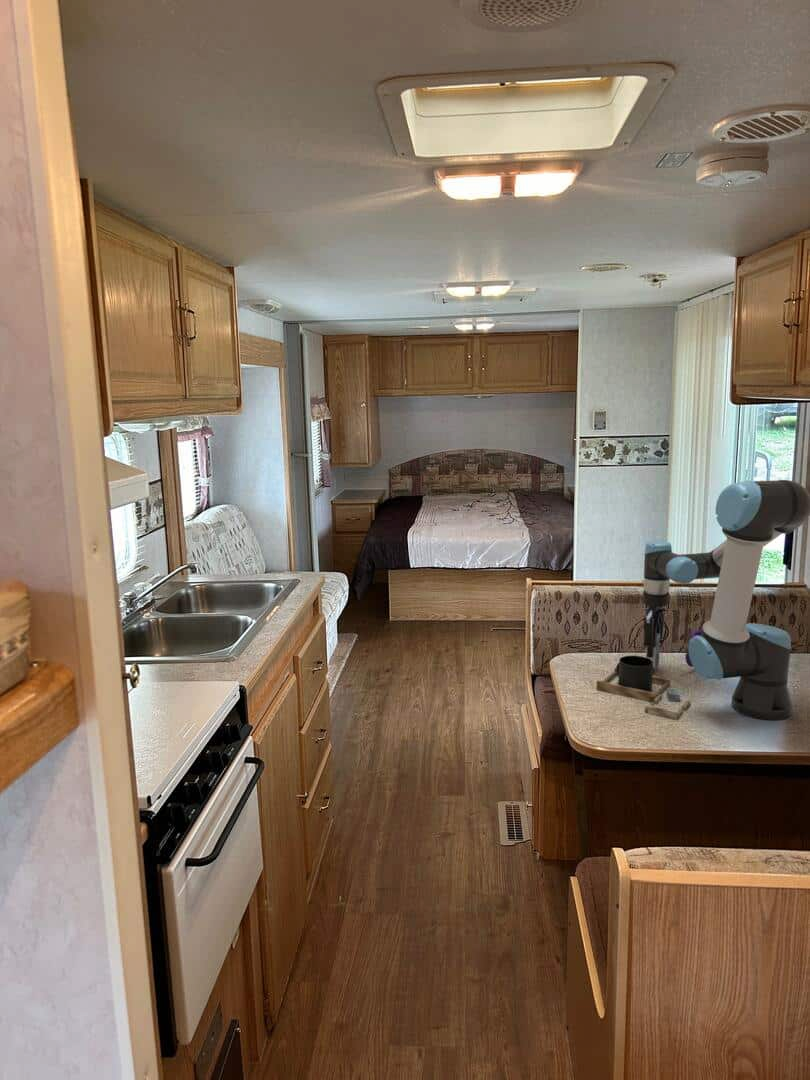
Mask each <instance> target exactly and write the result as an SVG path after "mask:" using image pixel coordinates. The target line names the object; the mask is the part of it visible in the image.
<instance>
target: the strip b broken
mask: <svg viewBox="0 0 810 1080" xmlns="http://www.w3.org/2000/svg"><path fill="white" fill-rule="evenodd" d="M666 697H667V700H668V702H677V703H678V702H681V693H680V691H679V689H678V688H670V687H668V688H667V689H666ZM662 699H663V693H662V694H659V695H658V696H657V697H656V698H655V699H654V702H650V703H649V704H645V705H644V713H646V714H650V715H654V716H658V717H663V718H667V719H671V720H676V721H678V719H679V718H680V717H681V716H682V715H683V713H684V712H685V711H686V710H687V709H688V708H689V707H690V706H691V700H689V699H687V700H686V701H685V702H684V703H683V705H682V706H681V708H679V709H678V710H677V711H676V710H673V709H667V708H663V707H659V706H656V705H657V704H658V703H659V702H660V701H661V700H662Z"/></svg>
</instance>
